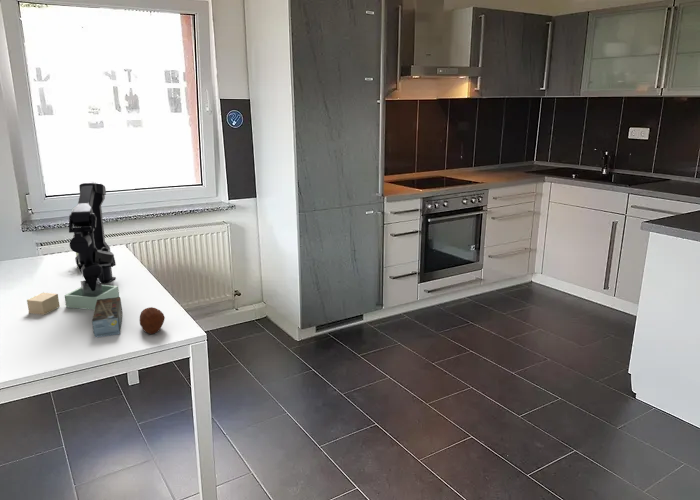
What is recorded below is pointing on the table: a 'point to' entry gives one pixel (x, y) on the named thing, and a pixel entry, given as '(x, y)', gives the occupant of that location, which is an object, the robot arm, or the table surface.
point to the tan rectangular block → (43, 303)
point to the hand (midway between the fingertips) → (91, 286)
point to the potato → (151, 320)
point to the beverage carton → (107, 317)
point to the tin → (87, 290)
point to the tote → (84, 302)
